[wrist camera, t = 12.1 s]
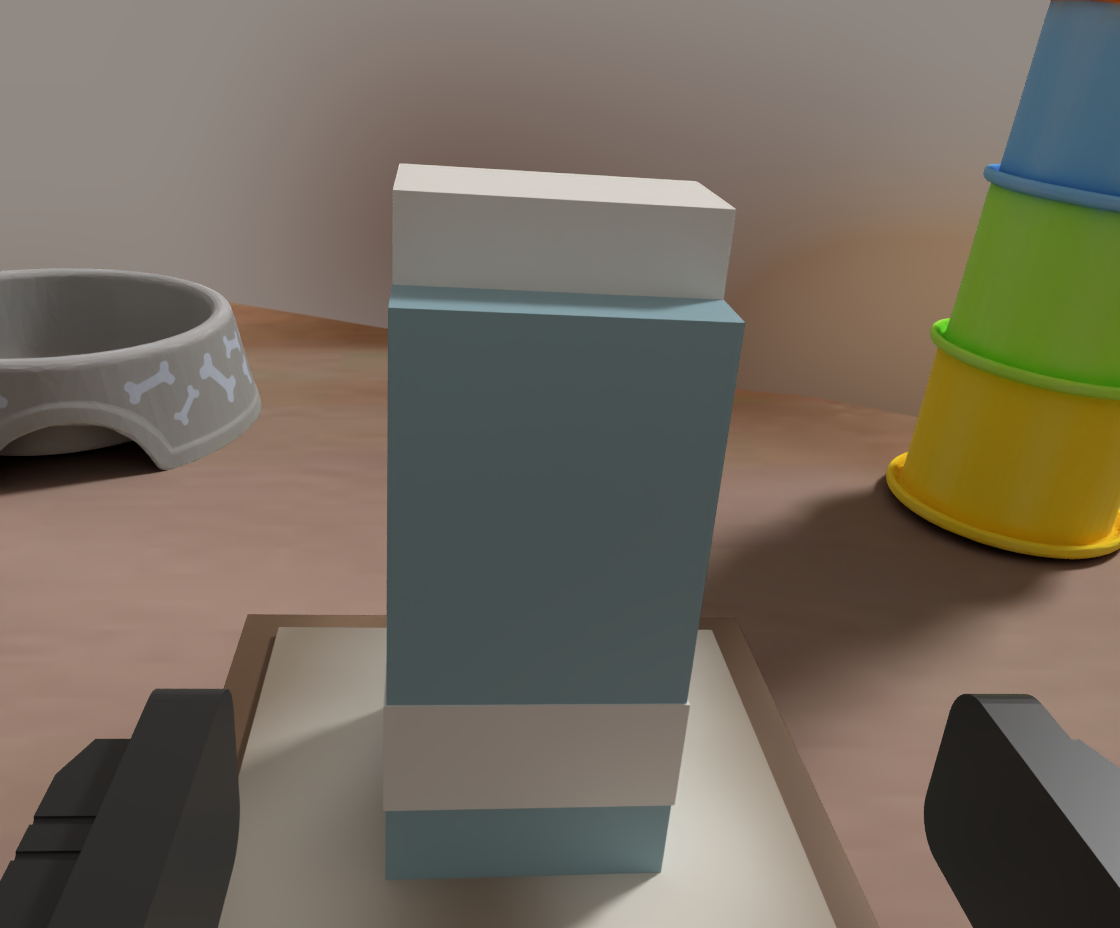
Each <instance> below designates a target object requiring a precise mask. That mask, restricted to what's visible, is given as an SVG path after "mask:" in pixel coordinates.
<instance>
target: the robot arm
mask: <svg viewBox="0 0 1120 928" xmlns="http://www.w3.org/2000/svg"><path fill="white" fill-rule="evenodd" d="M239 824H240V796H239V781H238V766H237V752H236V737H235V722H234V708H233V700H232V695H231V692H230V690H229V689H155V690H154V691H153V692H152V693H151V695H150V697H149V699H148V701H147V703H146V705H145V708H144V710H143V712H142V714H141V717H140V719H139V721H138V723H137V726H136V728H135V730H134V732H133V735H132V737H131V739H95V740H94V741H93V742H92V743H90V744H89V745H88V746H87V747H86V748H85V749H84V750H83V751H81V752H80V753H79V754H78V755H77V756H76V757H75V758H74V759H72V760H71V761H70V762H69V763H68V764H67V765H66V766H65V767H63V768H62V769H61V770H60V771H59V772H58V773H57V774H56V775H55V776H54V778H53V780H52V782H51V784H50V786H49V788H48V790H47V792H46V794H45V796H44V798H43V800H42V802H41V803H40V805H39V807H38V809H37V811H36V813H35V815H34V822H33V825H29V827H28V829H27V830H26V832H25V834H24V836H23V838H22V840H21V842H20V844H19V846H18V848H17V850H16V856H15V860H14V861H10V863H9V865H8V867H7V869H6V871H5V873H4V875H3V877H2V879H1V881H0V928H218V925H219V921H220V917H221V913H222V910H223V906H224V902H225V898H226V894H227V890H228V886H229V882H230V878H231V875H232V871H233V867H234V862H235V857H236V851H237V845H238V836H239ZM924 824H925V832H926V836H927V840H928V844H929V847H930V850H931V852H932V855H933V857H934V859H935V861H936V862H937V864H938V866H939V868H940V869H941V871H942V873H943V875H944V877H945V878H946V880H947V882H948V884H949V885H950V887H951V889H952V891H953V893H954V894H955V896H956V898H957V900H958V902H959V903H960V905H961V907H962V909H963V910H964V912H965V914H966V916H967V918H968V919H969V921H970V923H971V925H972V926H973V928H1120V768H1119V767H1118V766H1116V765H1115V764H1113V763H1112V762H1110V761H1109V760H1108V759H1106V758H1105V757H1103V756H1102V755H1101V754H1099V753H1098V752H1096V751H1095V750H1093V749H1092V748H1091V747H1089V746H1088V745H1086V744H1085V743H1084V742H1082V741H1081V740H1071V739H1070V737H1069V736H1068V735H1067V734H1066V733H1065V731H1064V730H1063V729H1062V728H1061V727H1060V725H1059V724H1058V723H1057V722H1056V721H1055V720H1054V718H1053V717H1052V716H1051V715H1050V714H1049V712H1048V711H1047V710H1046V709H1045V708H1044V706H1043V705H1042V704H1041V703H1040V702H1039V701H1038V700H1037V699H1036V698H1034V697H1033V696H1031V695H1028V694H963V695H960V696H959V697H958V698H957V699H956V700H955V701H954V703H953V705H952V707H951V710H950V713H949V716H948V720H947V723H946V727H945V730H944V734H943V737H942V741H941V744H940V748H939V751H938V755H937V759H936V762H935V766H934V769H933V773H932V776H931V780H930V783H929V787H928V790H927V794H926V798H925V804H924Z"/></svg>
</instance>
